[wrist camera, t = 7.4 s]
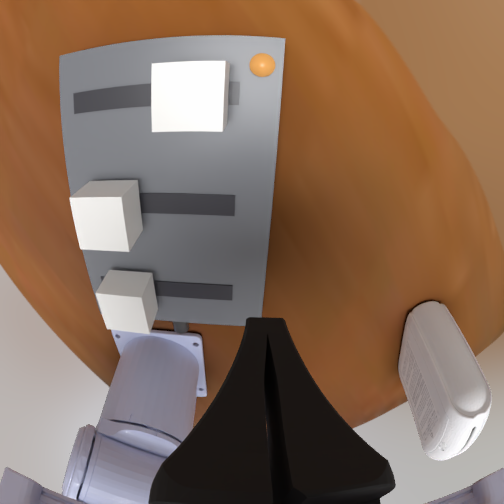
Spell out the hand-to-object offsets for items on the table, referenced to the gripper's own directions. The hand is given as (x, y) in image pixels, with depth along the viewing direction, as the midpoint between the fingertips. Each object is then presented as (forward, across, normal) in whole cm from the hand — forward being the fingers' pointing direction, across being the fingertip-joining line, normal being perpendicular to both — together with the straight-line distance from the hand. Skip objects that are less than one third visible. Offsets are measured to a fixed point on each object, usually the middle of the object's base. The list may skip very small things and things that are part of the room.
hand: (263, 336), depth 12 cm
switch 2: (+7, +4, -8) cm, 11 cm away
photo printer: (+10, -16, +11) cm, 22 cm away
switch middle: (+7, +8, -2) cm, 11 cm away
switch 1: (+7, +8, +4) cm, 11 cm away
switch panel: (+9, +6, -2) cm, 11 cm away
